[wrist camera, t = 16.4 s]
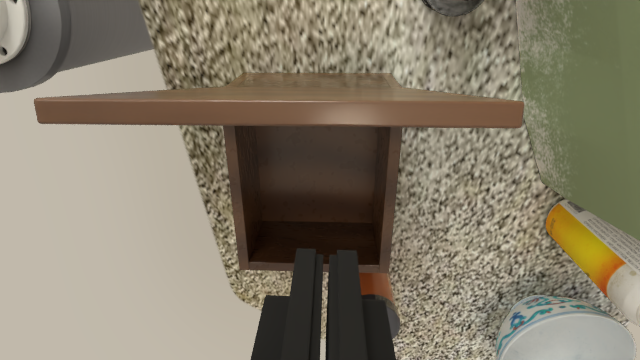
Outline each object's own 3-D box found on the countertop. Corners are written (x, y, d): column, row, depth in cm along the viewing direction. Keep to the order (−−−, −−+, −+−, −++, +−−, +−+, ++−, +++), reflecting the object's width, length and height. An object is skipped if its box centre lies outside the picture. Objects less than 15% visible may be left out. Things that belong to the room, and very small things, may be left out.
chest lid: (522, 128, 11) (526, 101, 11) (36, 124, 12) (31, 98, 12) (406, 98, 29) (407, 87, 29) (217, 97, 30) (216, 86, 30)
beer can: (548, 244, 46) (638, 345, 32) (536, 204, 43) (628, 295, 30) (601, 226, 44) (718, 324, 31) (592, 184, 42) (713, 270, 29)
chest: (379, 225, 45) (388, 273, 37) (256, 223, 46) (239, 270, 38) (390, 73, 38) (406, 91, 30) (243, 72, 38) (218, 90, 30)
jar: (331, 257, 48) (331, 316, 39) (375, 238, 46) (384, 295, 37) (354, 290, 50) (358, 353, 41) (396, 273, 48) (410, 334, 39)
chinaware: (499, 260, 47) (528, 305, 40) (614, 278, 47) (663, 325, 40) (462, 345, 53) (481, 396, 46) (564, 359, 54) (598, 412, 47)
